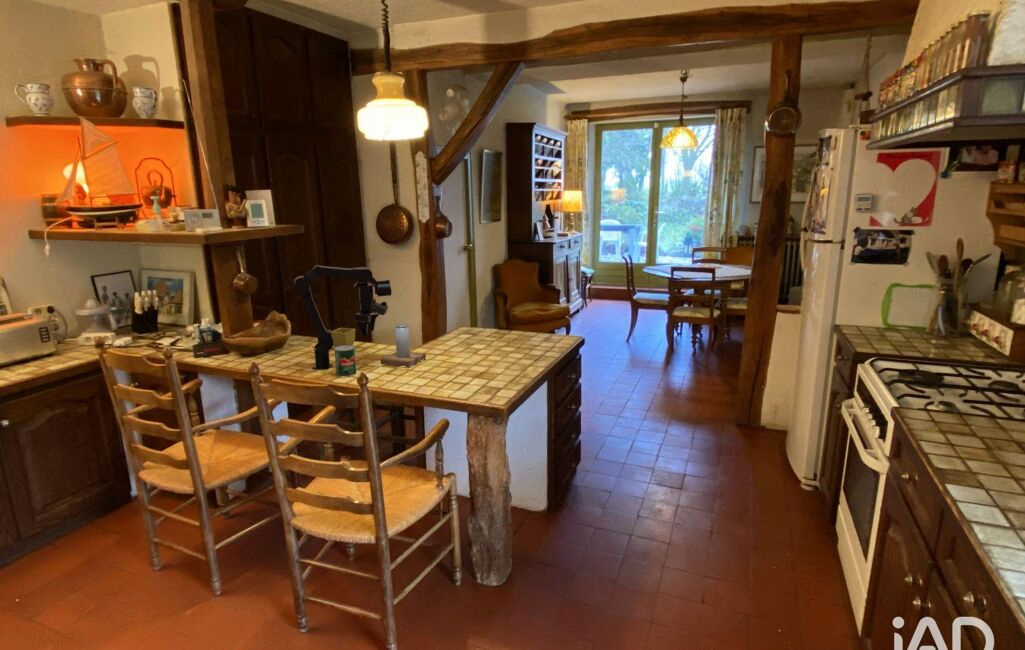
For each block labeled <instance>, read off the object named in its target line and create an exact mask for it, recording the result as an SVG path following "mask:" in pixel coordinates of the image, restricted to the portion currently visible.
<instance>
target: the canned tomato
mask: <svg viewBox="0 0 1025 650" xmlns="http://www.w3.org/2000/svg"><path fill="white" fill-rule="evenodd" d="M333 348H334V362H335V363H334V364H335V375H336V376H337V377H339V376H348V377H351V376H350V375H353V376H355V375H356V374H357V364H356V353H355V352H356V351H355V350H356V349H355V346H354V345H353V346H351V345H343V346H338V347H333ZM354 374H355V375H354Z"/></svg>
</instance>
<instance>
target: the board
mask: <svg viewBox="0 0 1025 650" xmlns="http://www.w3.org/2000/svg"><path fill="white" fill-rule="evenodd" d="M425 358H426V359H427V353H422V352H412V351H410V356H409V357H407V358H398V357H397V353H396V351H395V352H392V353H391V354H389V355H387V356H384V357H382V358H380V365H381V364H385V365H384V366H388V365H394V366H393V367H396V366H405V367H410V366H412V365H414V364H416V363H418V362H420V361H421V360H423V359H425ZM420 363H421V362H420ZM418 364H419V363H418ZM416 365H417V364H416ZM414 366H415V365H414ZM405 367H404V368H405ZM412 367H413V366H412ZM410 368H411V367H410Z"/></svg>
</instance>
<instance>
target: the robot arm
mask: <svg viewBox="0 0 1025 650" xmlns="http://www.w3.org/2000/svg"><path fill="white" fill-rule="evenodd" d="M320 276H324V277H335V278H345V279H351V280H354V281H355V280H356V283H354V285H353V287H354V288H356V289H358V295H359V300H357V302H358V304H359V310H358V312H356V314H354V315H353V322H355V324H356V325H357V326H358V328H359V329H360V332H361V333H362V335H363V336H364V337H367V336H368V327H369V330H370V331H371V332H374V330H375V326H376V322H377V321H376V320H377V318H378V317H379V316H380V315H381V316H385V315H386V314H387V311H388V310H389V305H388V303H387V302H386V301H382V302H381V303H380V302H377V300H376V298H374V295H376V296H377V297H391V296H392V286H391V281H390V279H385V280H377V279H376V278H375V277H373V272H372V270H370V268H369V267H366V266H359V267H352V268H348V267H338V266H337V267H336V266H328V265H327V266H325V265H319V264H316V265H314V266H313V267H312V269H310V270H308V271H307V272H305V274H303V275H299V276H297V277H295V278H294V280H293V288H294V290H295V291H296V293H297V294H298V295H299V296H300V298H301V299H302V301H303V304H304V306H305V309H306V311H307V313H308V315H309V318H310V320H311V322H312V325H313V328H314V330H315V332H316V337H317V343H316V344H315V345H314V346H313V349H314V350H313V351H314V361H315V362H314V363H315V365H314V366H312V370H329V369H330V368H332V367H333V366H334V364H333V363H331V361H330V351H331V350H332V349H333V348H334V345H333V341H334V337H333V336H332V335H331V331H332V330H331V329H327V328H326V327H325V325H324V322H323V321H322V318H321V315H320V312H319V310H318V308H317V305H316V303H315V301H314V298H313V296H312V290H311V286H310V285H311V284H312V283H313V282H314V281H316V280H317V279H318V278H319V277H320ZM368 283H369V284H368ZM328 368H329V369H328Z"/></svg>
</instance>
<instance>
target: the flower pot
mask: <svg viewBox="0 0 1025 650" xmlns="http://www.w3.org/2000/svg"><path fill="white" fill-rule="evenodd" d="M330 331H331V335H332V336H333V337H334V341H333V348H335V347H338V346H343V345H351V346H354V343H355V340H356V328H349V327H339V328H337V329H334V330H330Z"/></svg>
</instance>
